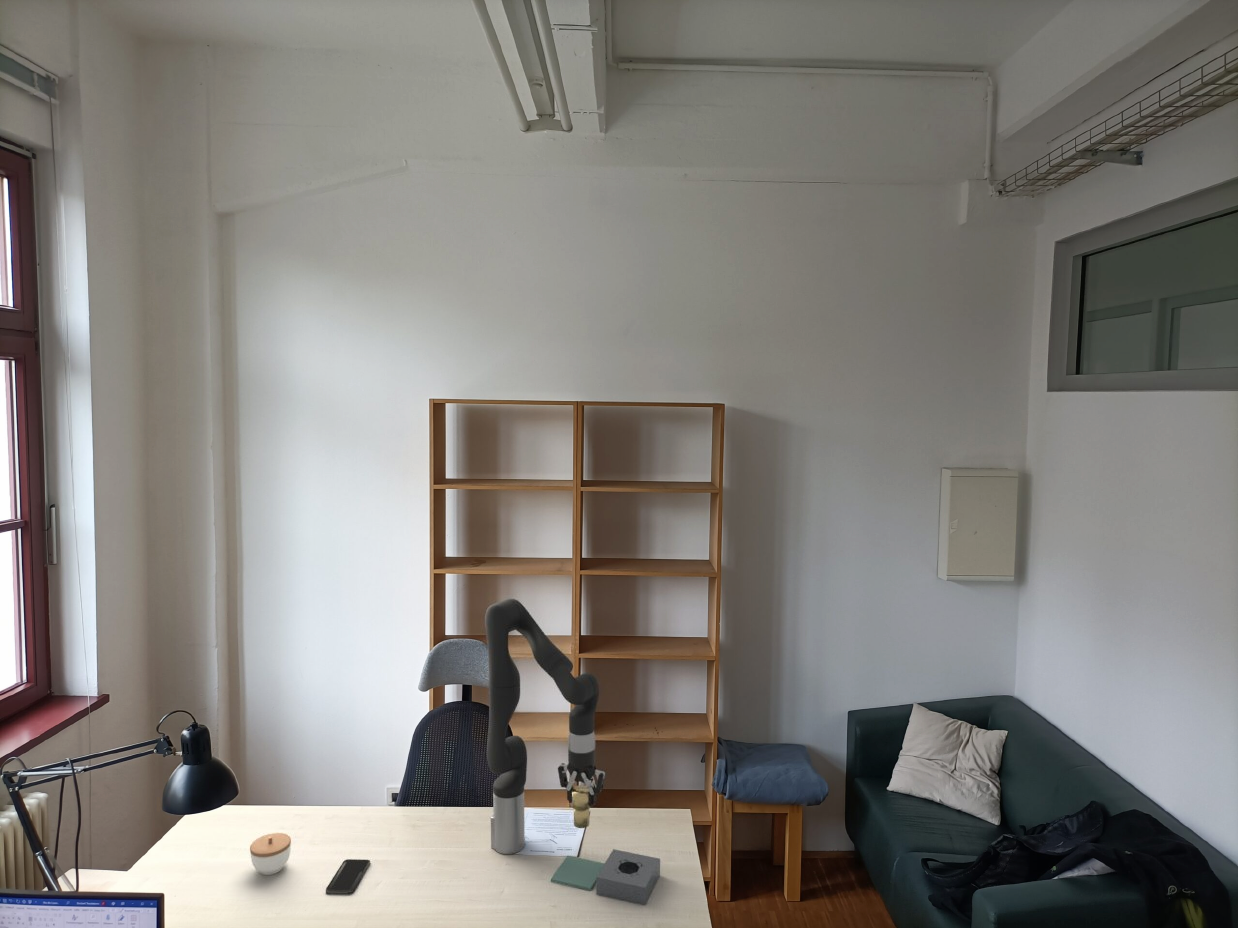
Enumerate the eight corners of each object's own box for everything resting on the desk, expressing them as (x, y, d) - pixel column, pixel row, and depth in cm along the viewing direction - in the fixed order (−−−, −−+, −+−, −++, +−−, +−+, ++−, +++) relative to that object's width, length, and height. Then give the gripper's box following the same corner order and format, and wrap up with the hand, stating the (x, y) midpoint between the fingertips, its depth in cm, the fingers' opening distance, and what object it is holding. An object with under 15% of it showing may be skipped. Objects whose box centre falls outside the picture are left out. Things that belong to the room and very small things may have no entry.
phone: (324, 891, 216) (344, 858, 231) (324, 894, 216) (344, 862, 231) (352, 891, 216) (371, 859, 231) (353, 895, 216) (371, 863, 231)
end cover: (568, 827, 222) (568, 792, 221) (576, 816, 227) (576, 783, 227) (587, 830, 220) (587, 796, 219) (594, 820, 226) (594, 786, 225)
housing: (596, 894, 216) (596, 876, 216) (613, 865, 230) (613, 848, 229) (645, 905, 212) (645, 887, 211) (660, 875, 225) (660, 858, 225)
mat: (550, 881, 222) (550, 878, 222) (567, 857, 233) (567, 855, 233) (590, 890, 218) (590, 887, 218) (605, 865, 229) (605, 863, 229)
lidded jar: (270, 854, 235) (269, 824, 234) (299, 861, 231) (298, 831, 230) (242, 875, 225) (240, 843, 224) (272, 883, 221) (271, 851, 220)
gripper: (552, 747, 221) (552, 805, 222) (601, 755, 216) (600, 814, 218) (563, 736, 228) (563, 792, 229) (610, 744, 223) (610, 801, 225)
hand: (581, 803), depth 223 cm, fingers closed on end cover, 5 cm apart
